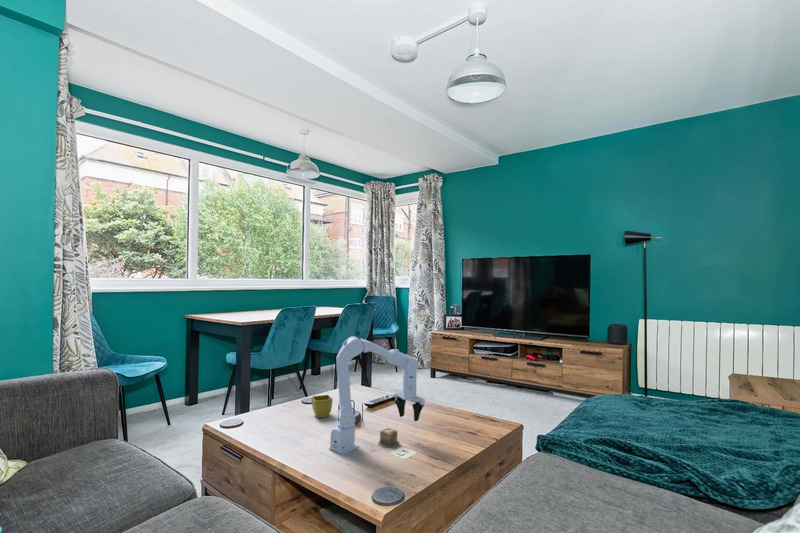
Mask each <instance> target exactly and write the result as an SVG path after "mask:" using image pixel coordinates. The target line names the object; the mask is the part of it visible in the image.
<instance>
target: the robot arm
mask: <svg viewBox="0 0 800 533" xmlns="http://www.w3.org/2000/svg"><path fill="white" fill-rule="evenodd" d="M362 352H363V354H364V353H369V352H370V353H374V354H376V355H378V356H381V357H384V358H386V362H388V363H389V364H392V365H394V366H396V367H399V368H403V370H402V371H403V374H402V393H401V392H396V393H394V398H395V400H394V403H395V405H396V407H397V410H398V415H399V417H400V418H403V417H404V416H405V407H406V403H407V402H411V403H413V404H412V408H413V409H412V410H413V420H414V422H417V421H419V418H420V415H421V412H422V410H423V408H424V407H425V404H426V402H425V401H426V399H425V398H422V397H420V396H418V395H417V380H418V379H417V371H418V369H419V367H420V366H419V365H420V364H419V362H418V361H417V359H415V358H414V357H413V356H411V355H409V354H408V353H406V354H405V353H403V352H401V351H400V349H397V348H393V349H387V348H384V347H382V346H380V345H378V344H377V343H374V342H373V341H369V340H367V339H364V338H359V337H357V336H355V335H354V336H353V335H352V336H349V337H348V338H347V339H346V340H344V342H342V346H341V348H340V349H339V351H338V353H337V355H336V358H335V359H336V361H335V362H336V372H337V374H336V375H337V385H338V386H337V387H338V397H339V400H338V401H339V402H338V405H339V407H338V410H337V417H338V421H337V424H336V426H335V428H334V429H333V428H332V430H331V432H330V447H329V448H328V449H329V450H331V451H333V452H335V453H339V454H340V455H344V454H347V453H349V452H350V451H351V452H352V451H353V450H355V449H357V448H359V447H360V445H359V444H357V443H355V439H356V438H355V437H356V415H355V414H354V412H353V406H352V396H351V383H350V382H351V381H350V370H349V363H350V361H351V360H353V358H355V357H357V356H359V355H361V353H362ZM406 401H407V402H406Z"/></svg>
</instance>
